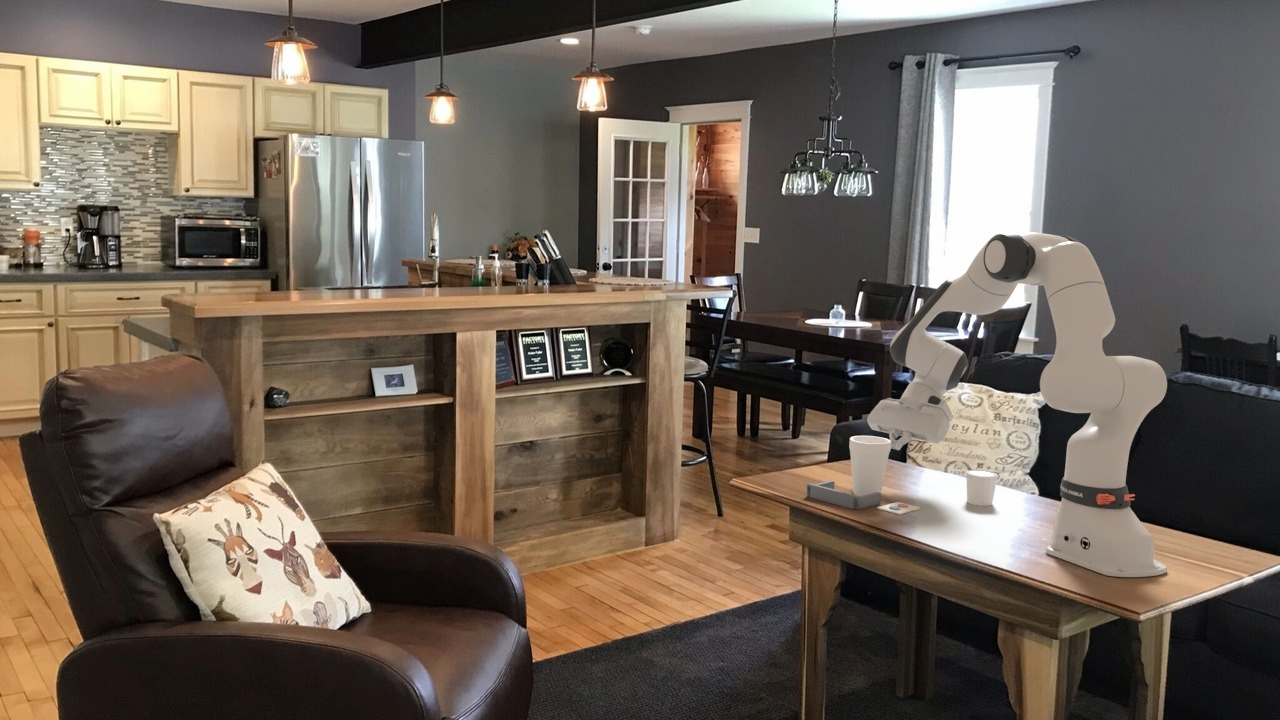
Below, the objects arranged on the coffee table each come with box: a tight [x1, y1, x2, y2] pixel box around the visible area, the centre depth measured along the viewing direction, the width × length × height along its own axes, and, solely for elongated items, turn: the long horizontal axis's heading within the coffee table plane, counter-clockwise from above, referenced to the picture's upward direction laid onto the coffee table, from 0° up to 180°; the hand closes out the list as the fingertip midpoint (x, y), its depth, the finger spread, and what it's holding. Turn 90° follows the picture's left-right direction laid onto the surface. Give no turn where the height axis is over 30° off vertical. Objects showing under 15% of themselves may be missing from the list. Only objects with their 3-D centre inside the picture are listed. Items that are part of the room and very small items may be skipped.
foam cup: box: [848, 435, 891, 496], centre depth 248 cm, size 10×9×13 cm
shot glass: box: [966, 469, 998, 507], centre depth 244 cm, size 7×7×7 cm
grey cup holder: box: [806, 480, 882, 511], centre depth 242 cm, size 9×14×3 cm, turn 43°
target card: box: [876, 501, 921, 516], centre depth 237 cm, size 8×6×1 cm
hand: (892, 447), depth 254 cm, fingers closed
